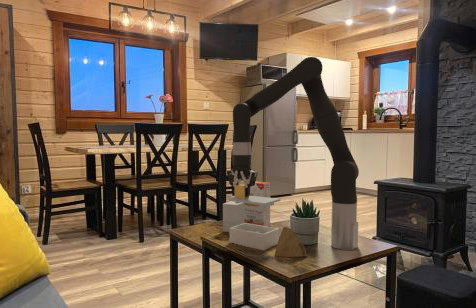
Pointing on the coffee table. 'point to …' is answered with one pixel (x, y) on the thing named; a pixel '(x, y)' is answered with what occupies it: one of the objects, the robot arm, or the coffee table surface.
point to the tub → (254, 236)
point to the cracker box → (258, 212)
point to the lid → (250, 197)
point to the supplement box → (232, 215)
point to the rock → (289, 245)
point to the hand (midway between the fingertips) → (241, 196)
